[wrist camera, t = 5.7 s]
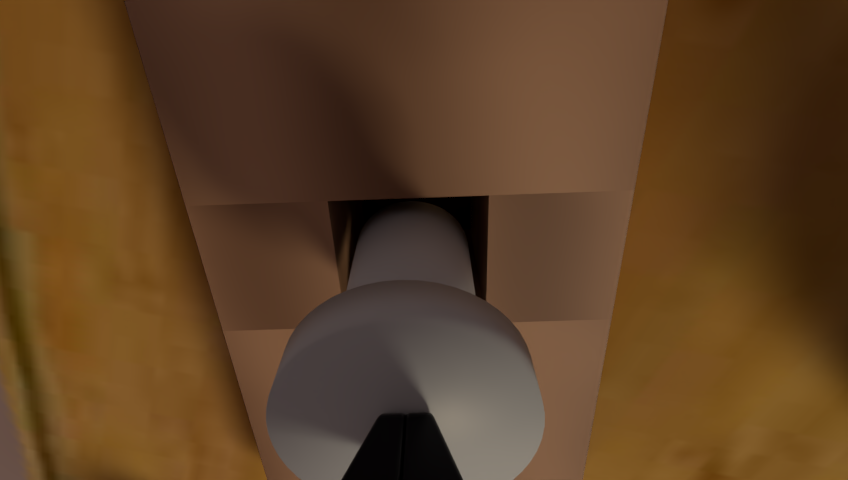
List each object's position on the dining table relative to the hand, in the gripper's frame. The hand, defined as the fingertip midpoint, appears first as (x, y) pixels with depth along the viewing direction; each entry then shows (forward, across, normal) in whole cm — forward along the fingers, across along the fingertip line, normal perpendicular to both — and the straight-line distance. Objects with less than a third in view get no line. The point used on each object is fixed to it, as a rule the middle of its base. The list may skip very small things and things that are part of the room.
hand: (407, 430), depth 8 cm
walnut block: (+10, 0, +5) cm, 11 cm away
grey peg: (+5, 0, 0) cm, 5 cm away
